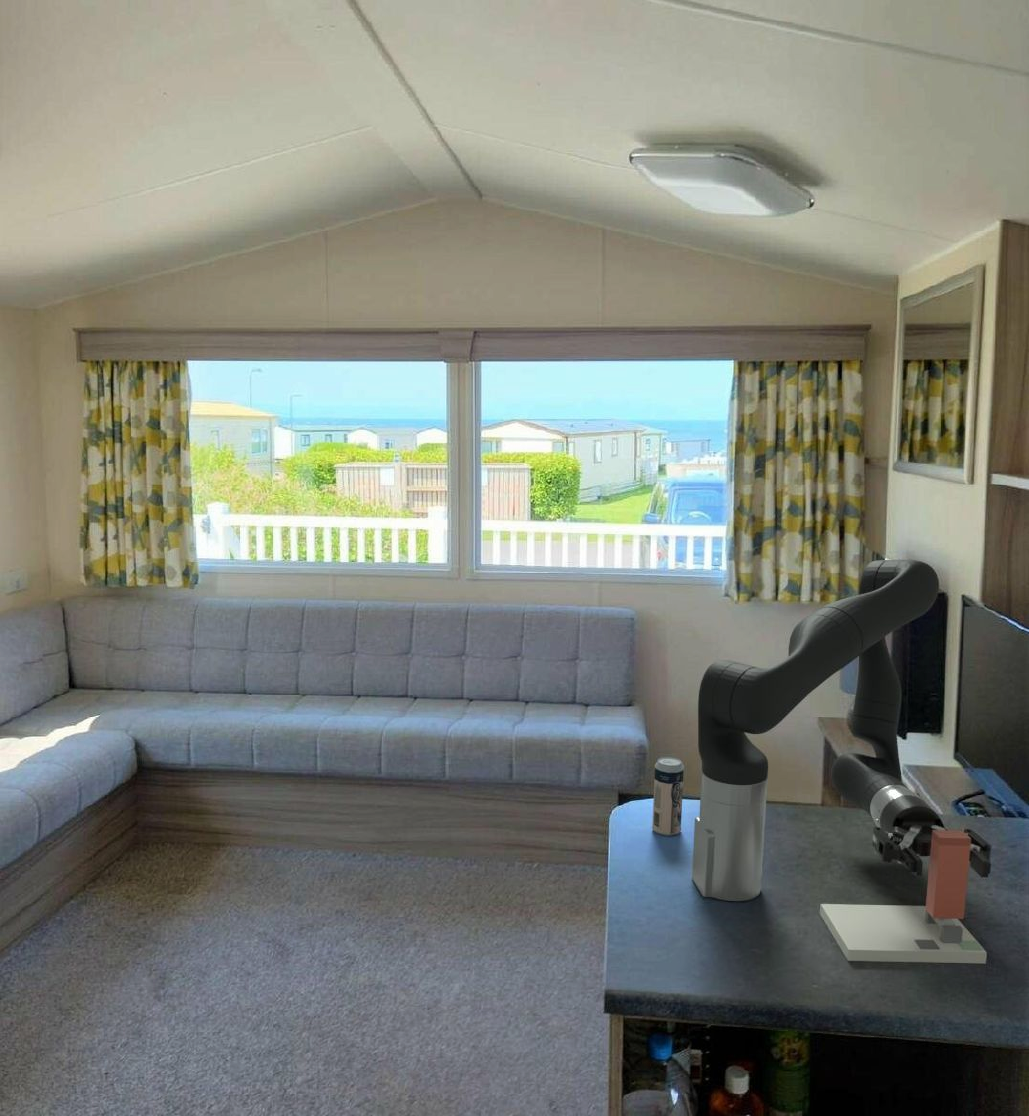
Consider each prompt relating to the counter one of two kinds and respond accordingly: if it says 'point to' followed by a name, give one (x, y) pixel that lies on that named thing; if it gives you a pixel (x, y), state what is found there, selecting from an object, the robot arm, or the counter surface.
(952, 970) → the counter surface
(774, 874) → the counter surface
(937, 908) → the lever
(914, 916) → the breaker base
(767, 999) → the counter surface
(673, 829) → the beer can
